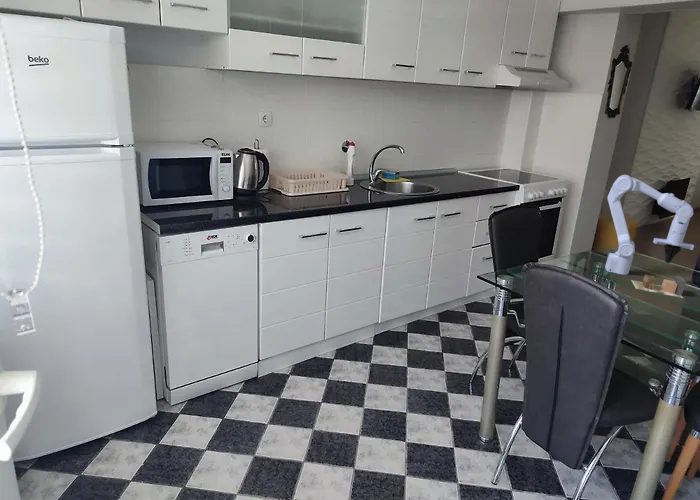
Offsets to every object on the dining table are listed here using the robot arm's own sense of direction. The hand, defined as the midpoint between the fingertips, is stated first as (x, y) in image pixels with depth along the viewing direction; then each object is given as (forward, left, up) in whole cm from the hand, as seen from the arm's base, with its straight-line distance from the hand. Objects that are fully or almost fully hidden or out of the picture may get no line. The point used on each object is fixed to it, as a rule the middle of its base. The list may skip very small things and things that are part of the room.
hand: (667, 262), depth 208 cm
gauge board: (-5, -12, -10) cm, 16 cm away
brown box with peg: (-8, -12, -9) cm, 17 cm away
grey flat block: (+3, -12, -10) cm, 16 cm away
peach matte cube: (0, -12, -9) cm, 15 cm away
